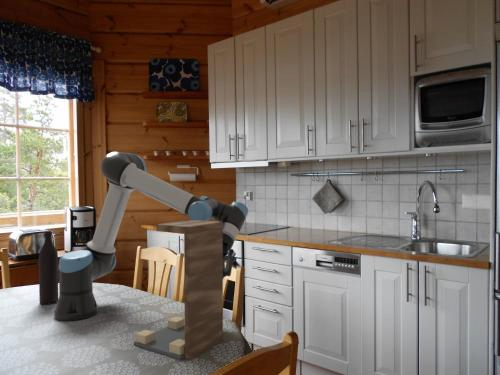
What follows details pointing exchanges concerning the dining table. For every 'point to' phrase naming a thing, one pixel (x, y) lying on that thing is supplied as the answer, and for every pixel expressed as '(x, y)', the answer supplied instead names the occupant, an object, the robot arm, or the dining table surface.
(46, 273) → the wine bottle
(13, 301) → the dining table surface
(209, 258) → the walnut shelf
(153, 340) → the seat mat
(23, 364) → the dining table surface
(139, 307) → the dining table surface
